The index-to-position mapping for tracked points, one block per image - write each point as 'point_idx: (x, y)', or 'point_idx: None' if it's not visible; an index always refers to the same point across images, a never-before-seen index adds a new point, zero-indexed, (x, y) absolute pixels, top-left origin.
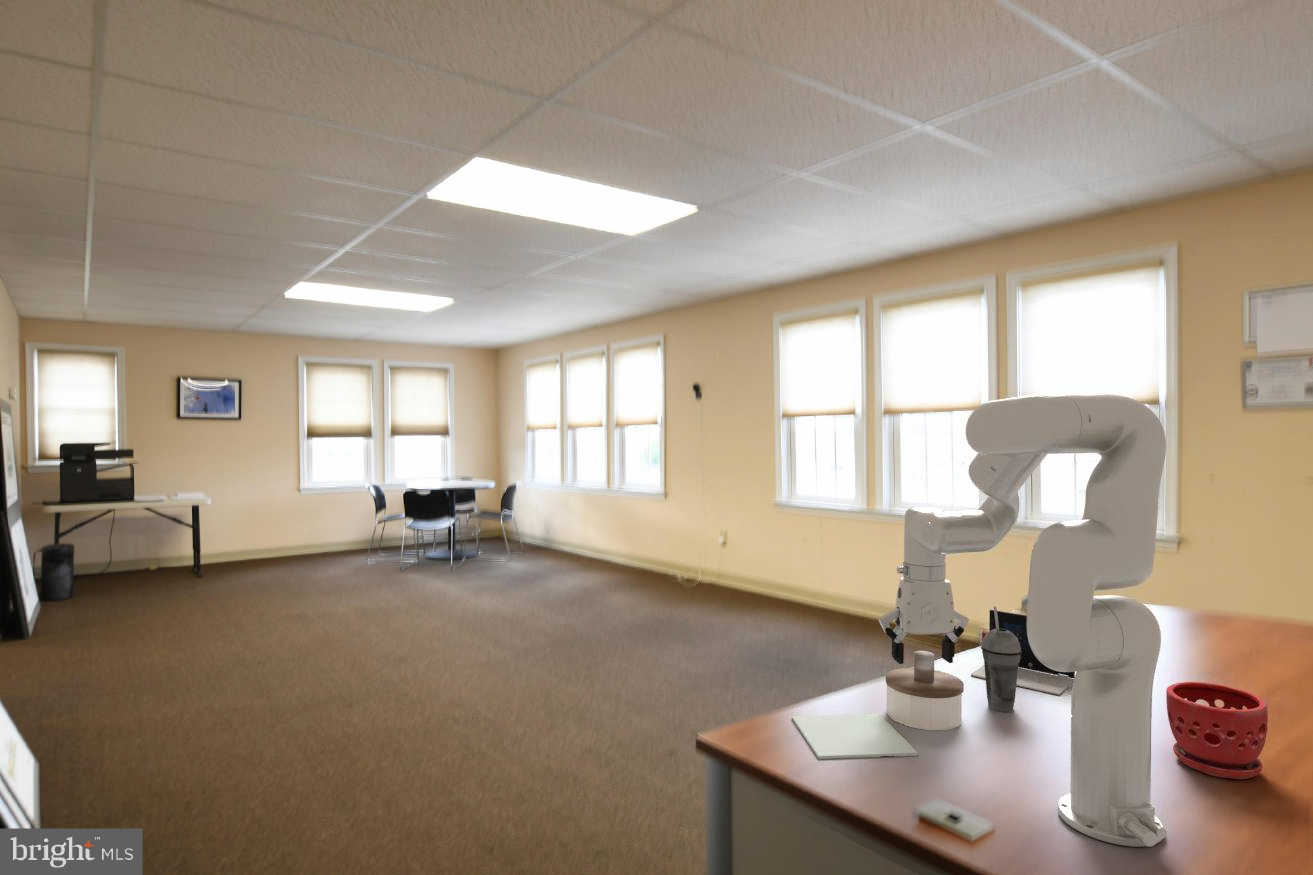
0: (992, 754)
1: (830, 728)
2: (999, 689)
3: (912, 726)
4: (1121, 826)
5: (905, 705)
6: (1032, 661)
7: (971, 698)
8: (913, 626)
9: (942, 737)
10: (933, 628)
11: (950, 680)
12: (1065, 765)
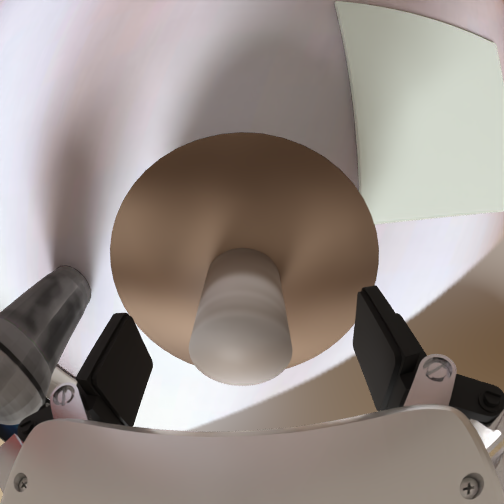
0: (151, 20)
1: (474, 146)
2: (48, 290)
3: None
4: None
5: None
6: (43, 407)
7: None
8: (415, 470)
9: (238, 93)
10: (171, 476)
11: (147, 278)
12: (47, 23)
